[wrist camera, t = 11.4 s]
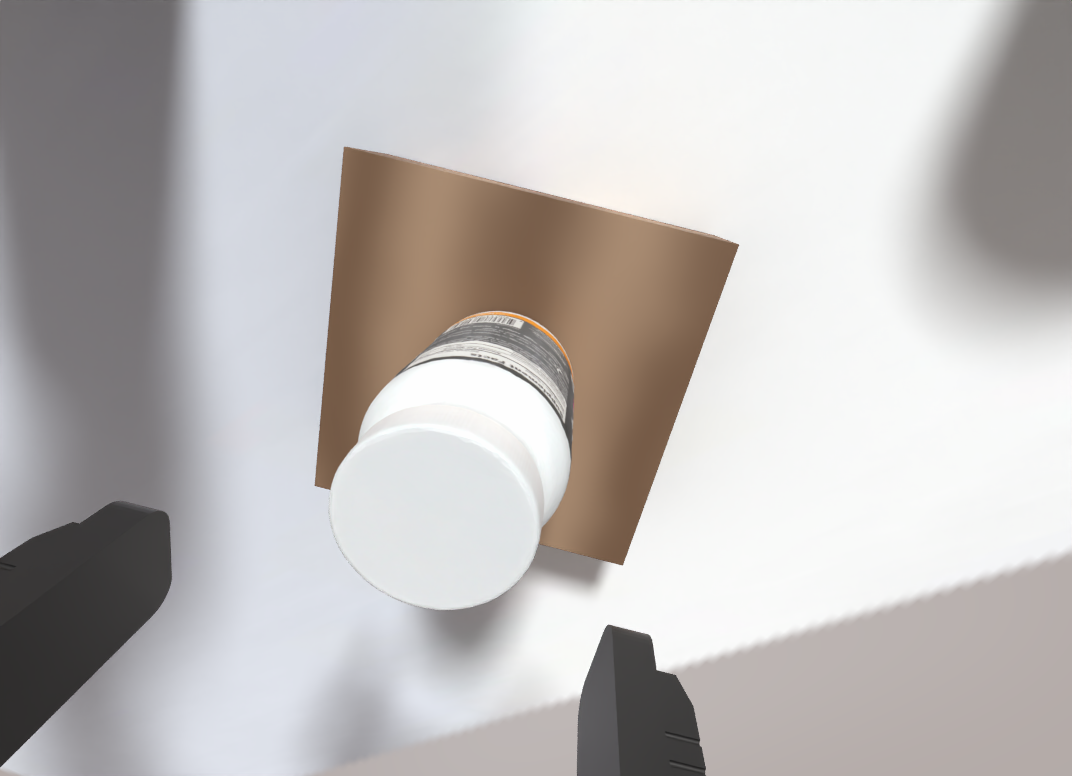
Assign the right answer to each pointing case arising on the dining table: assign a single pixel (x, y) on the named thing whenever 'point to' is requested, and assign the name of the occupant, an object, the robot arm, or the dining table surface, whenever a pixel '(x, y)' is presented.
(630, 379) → the walnut base
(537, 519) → the pill bottle
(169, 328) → the dining table surface
